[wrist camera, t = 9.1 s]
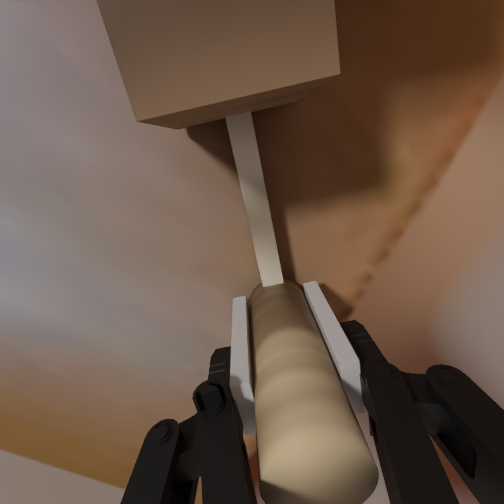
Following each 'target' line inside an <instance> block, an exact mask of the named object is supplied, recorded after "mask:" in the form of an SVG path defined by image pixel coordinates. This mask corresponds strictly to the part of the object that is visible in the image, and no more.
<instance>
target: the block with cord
mask: <svg viewBox="0 0 504 504" xmlns="http://www.w3.org/2000/svg"><path fill="white" fill-rule="evenodd" d="M97 3H98V6H99V9H100V12H101V15H102V18H103V21H104V24H105V27H106V30H107V33H108V36H109V39H110V42H111V45H112V48H113V52H114V55H115V58H116V61H117V64H118V67H119V70H120V73H121V76H122V79H123V82H124V85H125V88H126V91H127V94H128V97H129V100H130V103H131V106H132V109H133V112H134V115H135V118H136V121H137V122H142V123H147V124H152V125H158V126H163V127H168V128H173V129H182V128H186V127H190V126H195V125H199V124H203V123H208V122H212V121H216V120H221V119H226V123H227V128H228V132H229V137H230V141H231V146H232V150H233V155H234V159H235V163H236V168H237V172H238V177H239V181H240V186H241V190H242V195H243V199H244V204H245V208H246V213H247V217H248V222H249V226H250V231H251V235H252V240H253V244H254V249H255V253H256V258H257V262H258V267H259V271H260V275H261V280H262V283H261V284H259V285H258V286H257V287H256V288H255V289H254V290H253V292H252V294H251V296H250V299H249V316H250V333H251V350H252V367H253V384H254V403H255V420H256V438H257V455H258V470H259V471H258V472H259V489H260V495H261V497H262V499H263V501H264V502H265V504H362V503H364V502H365V501H366V500H367V499H368V498H369V497H370V495H371V494H372V493H373V492H374V490H375V487H376V486H377V483H378V479H379V473H378V468H377V466H376V464H375V461H374V459H373V456H372V454H371V452H370V449H369V447H368V444H367V442H366V440H365V437H364V435H363V433H362V430H361V428H360V426H359V423H358V421H357V418H356V416H355V414H354V411H353V409H352V407H351V404H350V402H349V399H348V397H347V395H346V392H345V390H344V388H343V385H342V383H341V381H340V378H339V376H338V373H337V371H336V369H335V366H334V364H333V362H332V359H331V357H330V355H329V352H328V350H327V347H326V345H325V343H324V340H323V338H322V336H321V333H320V331H319V329H318V326H317V324H316V321H315V319H314V317H313V314H312V312H311V310H310V307H309V305H308V303H307V300H306V298H305V295H304V293H303V291H302V289H301V288H300V287H299V286H298V285H297V284H296V283H294V282H293V281H291V280H288V279H283V276H282V271H281V266H280V261H279V256H278V250H277V245H276V240H275V235H274V229H273V224H272V219H271V214H270V209H269V203H268V198H267V193H266V188H265V183H264V177H263V172H262V167H261V162H260V156H259V151H258V146H257V141H256V136H255V130H254V125H253V120H252V115H251V112H255V111H260V110H264V109H268V108H273V107H277V106H281V105H286V104H290V103H294V102H299V101H300V100H302V99H303V98H305V97H306V96H308V95H309V94H311V93H312V92H314V91H315V90H317V89H318V88H320V87H321V86H323V85H324V84H326V83H327V82H329V81H330V80H332V79H333V78H335V77H336V76H338V75H339V74H340V62H339V50H338V38H337V26H336V14H335V3H334V0H97Z"/></svg>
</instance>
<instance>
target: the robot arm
mask: <svg viewBox="0 0 504 504" xmlns="http://www.w3.org/2000/svg"><path fill="white" fill-rule="evenodd" d="M303 286H304V292H305V298H306V300H307V303H308V305H309V307H310V310H311V312H312V314H313V317H314V319H315V321H316V324H317V326H318V329H319V331H320V333H321V336H322V338H323V340H324V343H325V345H326V347H327V350H328V352H329V355H330V357H331V359H332V362H333V364H334V366H335V369H336V371H337V373H338V376H339V378H340V381H341V383H342V385H343V388H344V390H345V392H346V395H347V397H348V399H349V402H350V404H351V407H352V409H353V411H354V414H357V413H362V412H364V405H365V407H366V409H367V411H368V414H369V425H370V435H371V436H373V438H374V443H375V446H376V450H377V454H378V458H379V461H380V466H381V469H382V473H383V477H384V481H385V484H386V488H387V492H388V496H389V500H390V504H459V502H458V500H457V498H456V495H455V493H454V491H453V488H452V486H451V484H450V482H449V479H448V477H447V475H446V473H445V471H444V468H443V466H442V464H441V461H440V459H439V457H438V455H437V452H436V450H435V448H434V446H433V443H432V441H431V439H430V437H429V435H428V433H429V434H430V436H431V437H432V438H433V440H434V441H435V442H436V444H437V445H438V447H439V448H440V449H441V451H442V452H443V453H444V455H445V456H446V458H447V459H448V460H449V462H450V463H451V465H452V466H453V467H454V469H455V470H456V471H457V473H458V474H459V475H460V477H461V478H462V480H463V481H464V482H465V484H466V485H467V487H468V488H469V489H470V491H471V492H472V493H473V495H474V496H475V498H476V499H477V500H478V502H479V503H480V504H504V410H503V409H502V408H501V407H500V406H499V405H498V404H497V403H496V402H494V401H493V400H492V399H491V398H490V397H489V396H488V395H487V394H486V393H485V392H484V391H483V390H482V389H481V388H480V387H478V386H477V385H476V384H475V383H474V382H473V381H472V380H471V379H470V378H469V377H468V376H467V375H466V374H464V373H463V372H462V371H460V370H459V369H457V368H454V367H451V366H448V365H442V364H441V365H434V366H431V367H430V368H428V370H427V371H426V374H412V373H405V372H402V371H399V369H398V368H397V367H395V366H394V365H392V364H389V363H388V362H387V360H386V359H385V357H384V356H383V354H382V353H381V351H380V350H379V349H378V347H377V346H376V344H375V343H374V341H373V340H372V338H371V337H370V335H369V334H368V332H367V331H366V329H365V328H364V326H363V325H362V324H360V323H359V322H357V321H355V320H352V321H347V322H342V323H339V322H338V321H337V319H336V317H335V315H334V313H333V311H332V310H331V308H330V306H329V304H328V302H327V300H326V299H325V297H324V295H323V293H322V291H321V289H320V288H319V286H318V284H317V282H316V281H311V282H307V283H303ZM192 399H193V401H194V404H195V406H196V409H197V411H198V412H197V413H196V414H195V415H194V416H192V417H191V418H189V419H187V420H185V421H183V422H181V423H179V424H178V422H177V421H175V420H174V419H165V420H162V421H160V422H158V423H157V424H155V425H154V426H153V427H152V428H151V429H150V430H149V432H148V433H147V435H146V437H145V440H144V442H143V445H142V448H141V450H140V453H139V456H138V458H137V461H136V464H135V466H134V469H133V472H132V474H131V477H130V479H129V482H128V485H127V487H126V490H125V493H124V495H123V498H122V501H121V504H194V502H195V497H196V491H197V485H198V480H199V477H200V476H201V480H202V501H203V504H257V499H256V494H255V490H254V484H253V480H252V475H251V470H250V465H249V460H248V455H247V450H246V445H245V442H244V439H243V429H244V432H245V435H248V434H253V433H256V420H255V403H254V384H253V367H252V350H251V333H250V316H249V307H248V303H247V299H246V296H241V297H236V298H233V312H232V338H231V346H229V347H224V348H219V349H216V350H215V351H214V353H213V355H212V356H211V360H210V368H209V376H208V380H207V381H205V382H203V383H201V384H200V385H199V386H198V387H197V388H196V389H195V391H194V393H193V398H192Z"/></svg>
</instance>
